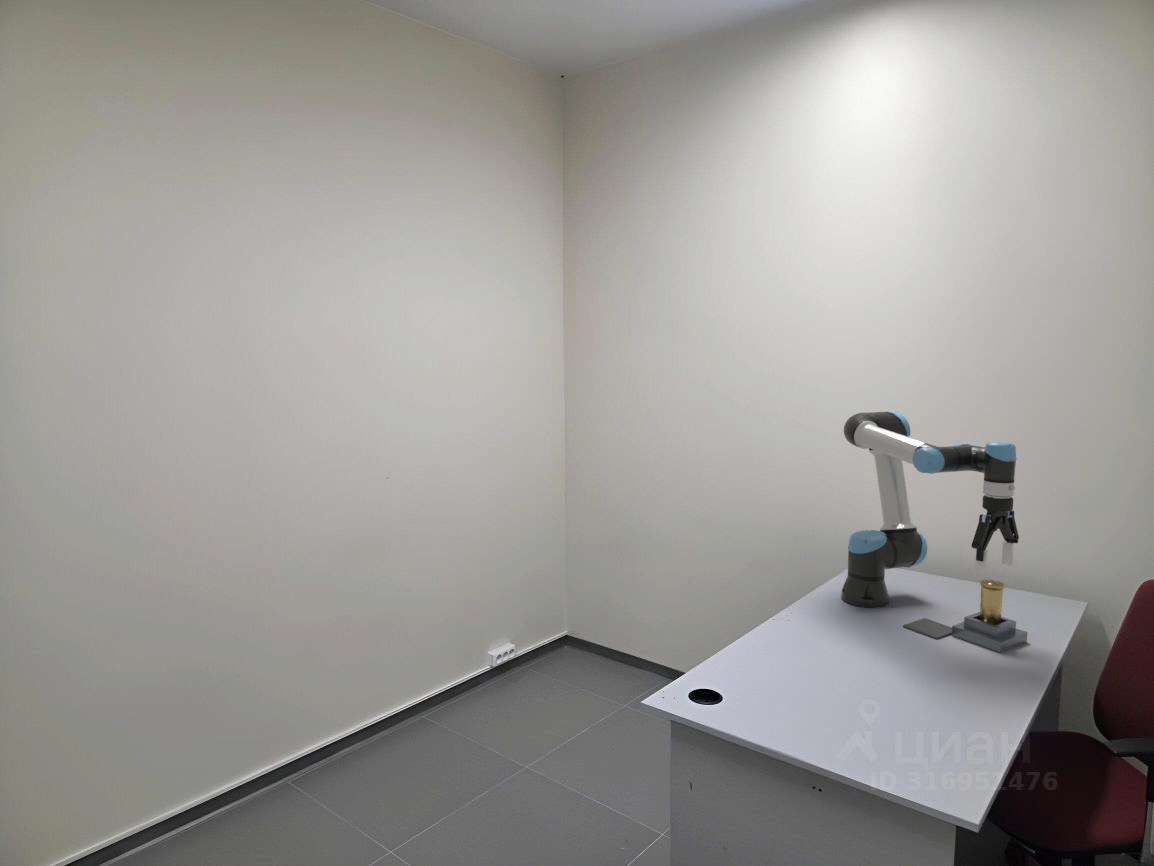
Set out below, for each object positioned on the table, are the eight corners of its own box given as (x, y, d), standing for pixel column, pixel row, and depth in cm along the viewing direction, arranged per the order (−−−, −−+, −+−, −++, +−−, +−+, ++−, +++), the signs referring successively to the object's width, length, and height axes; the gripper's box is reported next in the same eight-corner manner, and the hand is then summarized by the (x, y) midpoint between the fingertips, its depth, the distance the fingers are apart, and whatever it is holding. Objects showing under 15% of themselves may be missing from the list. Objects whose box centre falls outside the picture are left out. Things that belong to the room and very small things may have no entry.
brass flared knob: (973, 627, 204) (976, 581, 202) (984, 623, 207) (987, 578, 205) (994, 634, 199) (997, 587, 197) (1005, 630, 202) (1008, 583, 200)
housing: (951, 635, 206) (952, 616, 205) (978, 625, 213) (979, 607, 212) (1000, 652, 194) (1001, 632, 193) (1026, 642, 201) (1028, 622, 200)
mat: (902, 627, 212) (903, 625, 212) (924, 619, 218) (924, 618, 218) (936, 639, 203) (937, 637, 203) (958, 631, 208) (958, 629, 208)
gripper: (986, 503, 189) (982, 578, 191) (1035, 493, 201) (1030, 564, 203) (959, 498, 195) (956, 571, 197) (1008, 489, 208) (1004, 558, 210)
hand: (994, 568), depth 200 cm, fingers open, 13 cm apart
